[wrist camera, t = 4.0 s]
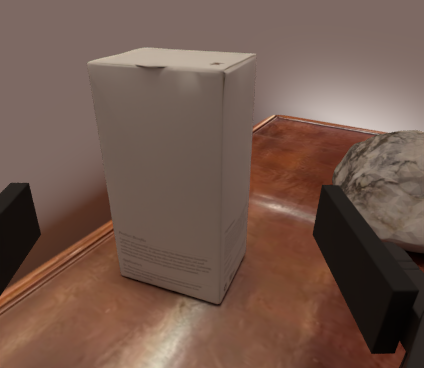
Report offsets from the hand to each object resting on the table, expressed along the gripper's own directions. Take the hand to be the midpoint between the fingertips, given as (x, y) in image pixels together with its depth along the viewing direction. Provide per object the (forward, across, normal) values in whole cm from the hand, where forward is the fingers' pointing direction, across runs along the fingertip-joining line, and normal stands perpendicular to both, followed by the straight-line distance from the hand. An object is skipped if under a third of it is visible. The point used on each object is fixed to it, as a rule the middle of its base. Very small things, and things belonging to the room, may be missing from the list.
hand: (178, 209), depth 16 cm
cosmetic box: (+8, 0, -10) cm, 13 cm away
